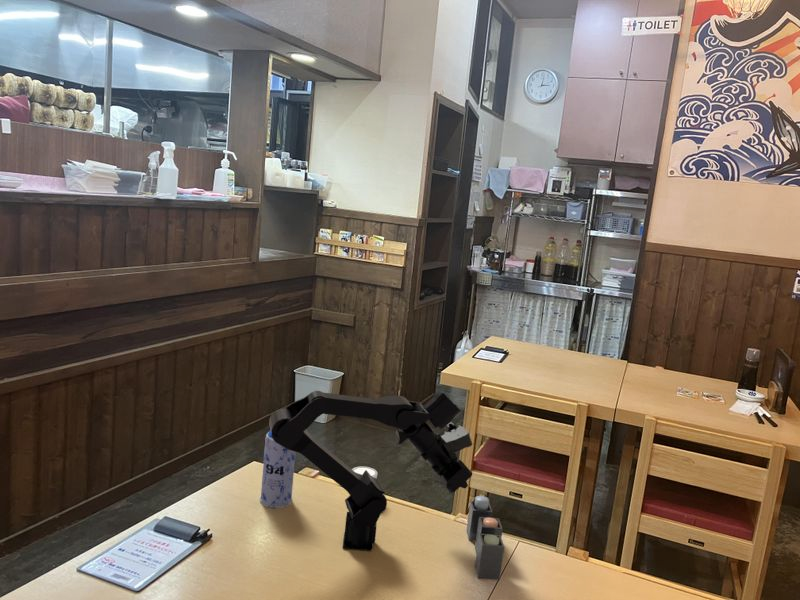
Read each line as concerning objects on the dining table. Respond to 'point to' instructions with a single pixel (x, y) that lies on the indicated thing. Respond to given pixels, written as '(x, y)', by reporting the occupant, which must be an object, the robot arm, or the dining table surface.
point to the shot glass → (362, 469)
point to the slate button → (481, 503)
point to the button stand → (486, 554)
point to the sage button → (491, 539)
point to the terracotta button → (490, 522)
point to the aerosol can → (277, 474)
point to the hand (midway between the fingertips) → (466, 486)
